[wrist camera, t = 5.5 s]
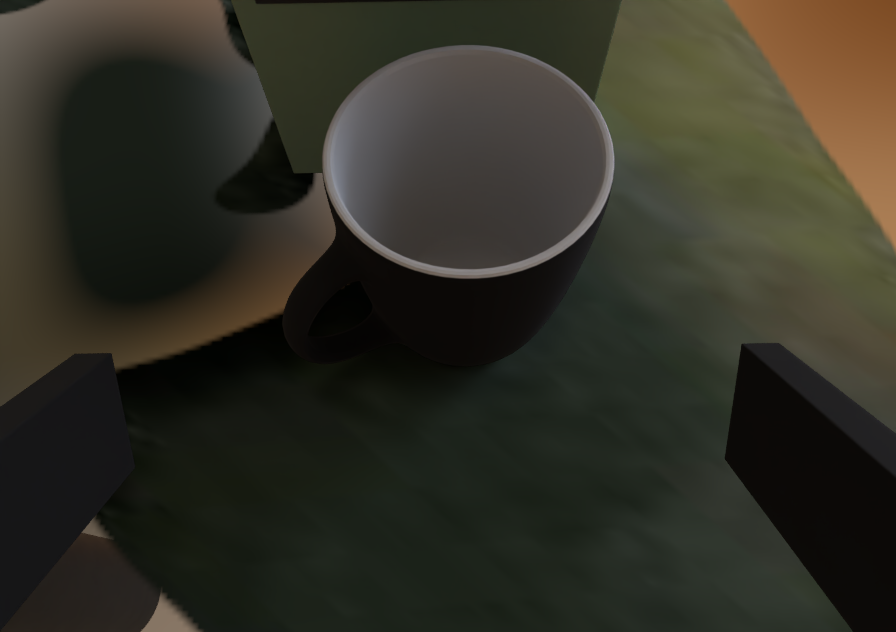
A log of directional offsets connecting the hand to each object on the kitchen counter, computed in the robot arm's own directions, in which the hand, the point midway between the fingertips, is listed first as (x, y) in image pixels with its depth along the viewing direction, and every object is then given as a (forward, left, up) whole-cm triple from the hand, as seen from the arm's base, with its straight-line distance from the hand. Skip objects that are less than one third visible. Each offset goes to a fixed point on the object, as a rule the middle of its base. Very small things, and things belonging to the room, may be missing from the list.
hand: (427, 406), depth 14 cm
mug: (0, +8, -13) cm, 15 cm away
